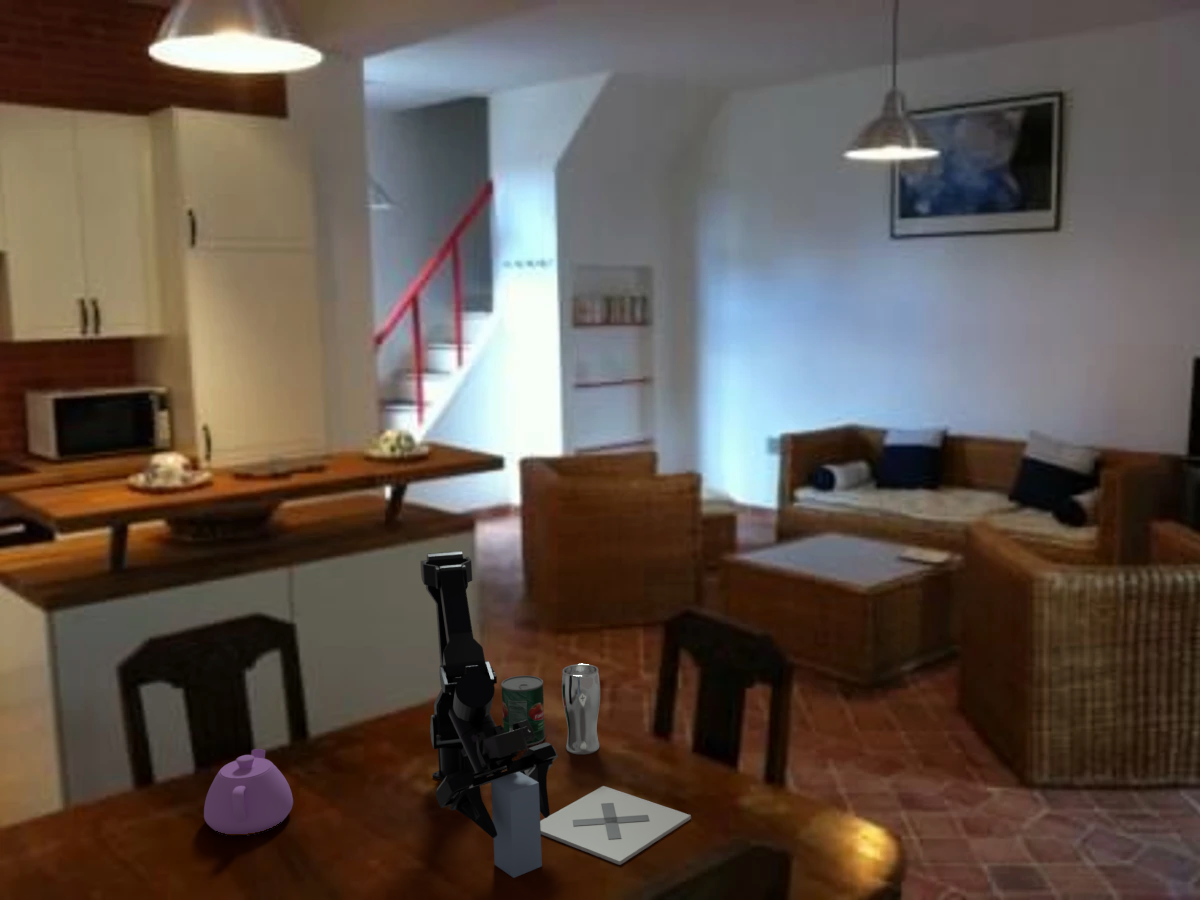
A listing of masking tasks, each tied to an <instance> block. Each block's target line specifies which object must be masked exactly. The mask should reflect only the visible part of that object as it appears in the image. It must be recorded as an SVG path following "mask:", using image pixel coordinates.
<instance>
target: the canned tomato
mask: <svg viewBox="0 0 1200 900" xmlns="http://www.w3.org/2000/svg"><path fill="white" fill-rule="evenodd" d="M500 686H501V707H502V709H501V710H502V727H503V728H504V730H505V732H510V731H513V724H514V723H517V722H520V721H524V720H528V722H529V723H530V725H531V727H532V729H533V732H534V736H535V737H534V740H532V741H529V742H526V743H527V747H529V746H536V745H537V744H538V745H539V744H541V743H542V742H543V741H544V740H545V738H546V732H545V730H546V729H545V704H544V700H545V699H544V680H543V679H542V678H540V677H538V676H534V675H515V676H510V677H508V678H505V679H504V680H502V682H501V684H500Z"/></svg>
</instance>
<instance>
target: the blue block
mask: <svg viewBox="0 0 1200 900" xmlns="http://www.w3.org/2000/svg"><path fill="white" fill-rule="evenodd" d="M490 788H491V809H492V821H493V823H494V826H495V829H496V831H497V836H496V837H495V838H493V855H494V856H493V860H494V866H495V867H497V868H499V869H500V870H502V871H503V872H505V873H506V874H508V875H509V876H510V877H512V878H517V877H519V876H521V875H524V874H526V873H529V872H532V871H534V870H537V869H538V868H541V867H543V861H542V860H543V859H542V856H543V855H542V837H541V836H542V834H541V829H540V821H541V812H540V802H539V782H537V781H535V780H534V779H532V778H530V777H528V776H526V775H525V774H523V773H521V772H516V773H514V774H511V775H508V776H505V777H502V778H499V779H496V780H493V781H491V782H490Z"/></svg>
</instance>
